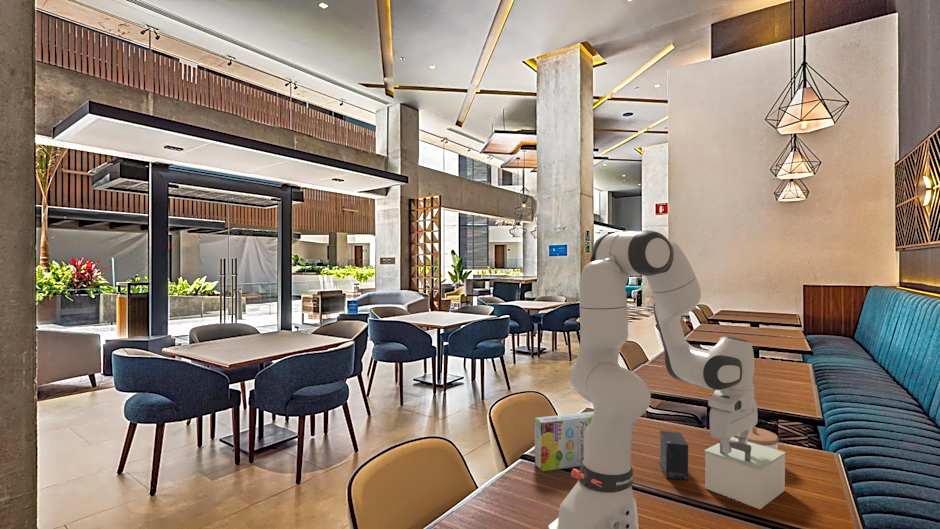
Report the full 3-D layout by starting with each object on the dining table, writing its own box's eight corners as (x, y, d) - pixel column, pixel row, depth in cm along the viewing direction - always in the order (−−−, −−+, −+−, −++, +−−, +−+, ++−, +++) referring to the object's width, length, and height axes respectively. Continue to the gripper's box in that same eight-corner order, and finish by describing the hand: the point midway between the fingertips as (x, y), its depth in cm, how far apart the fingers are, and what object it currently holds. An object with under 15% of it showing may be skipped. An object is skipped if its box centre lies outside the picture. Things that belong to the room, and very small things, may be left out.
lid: (760, 470, 121) (760, 451, 121) (704, 452, 133) (704, 435, 133) (785, 454, 131) (785, 437, 131) (731, 438, 143) (731, 422, 142)
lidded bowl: (783, 473, 142) (783, 436, 141) (735, 467, 146) (735, 432, 146) (771, 456, 154) (772, 422, 153) (728, 451, 158) (728, 418, 157)
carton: (759, 509, 122) (760, 470, 122) (705, 488, 133) (705, 452, 133) (784, 490, 131) (785, 454, 131) (731, 472, 143) (731, 439, 142)
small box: (689, 480, 138) (689, 444, 137) (665, 478, 139) (665, 443, 139) (681, 465, 148) (681, 431, 148) (658, 463, 149) (658, 430, 149)
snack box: (595, 456, 154) (594, 410, 154) (604, 464, 149) (604, 416, 149) (534, 464, 149) (533, 416, 149) (541, 472, 144) (541, 422, 143)
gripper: (740, 387, 137) (740, 435, 137) (704, 401, 124) (704, 453, 125) (764, 392, 132) (764, 442, 132) (729, 407, 119) (729, 462, 120)
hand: (734, 448), depth 128 cm, fingers open, 8 cm apart
